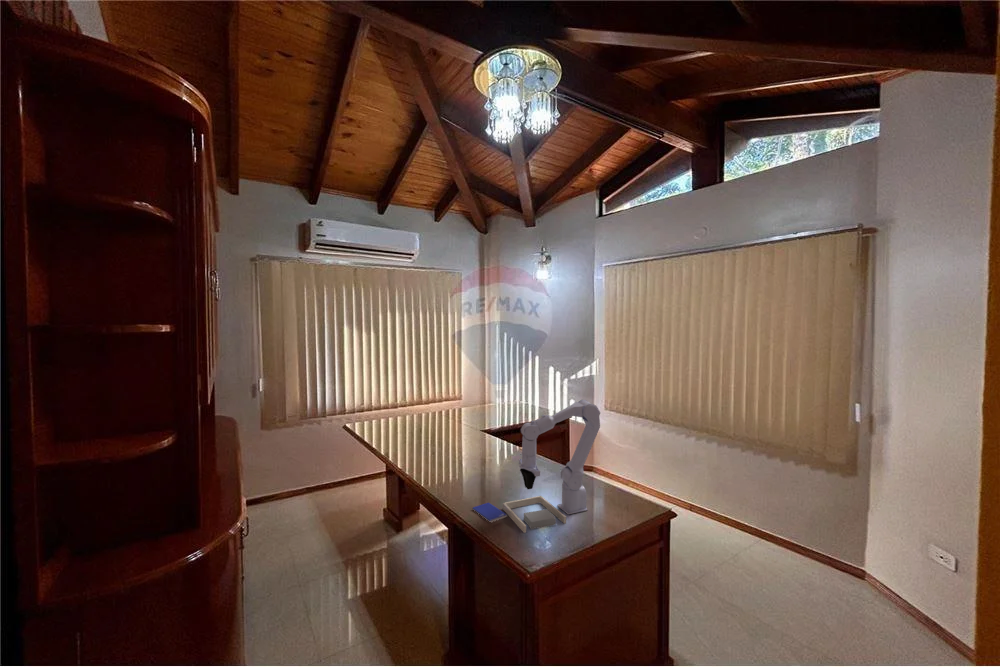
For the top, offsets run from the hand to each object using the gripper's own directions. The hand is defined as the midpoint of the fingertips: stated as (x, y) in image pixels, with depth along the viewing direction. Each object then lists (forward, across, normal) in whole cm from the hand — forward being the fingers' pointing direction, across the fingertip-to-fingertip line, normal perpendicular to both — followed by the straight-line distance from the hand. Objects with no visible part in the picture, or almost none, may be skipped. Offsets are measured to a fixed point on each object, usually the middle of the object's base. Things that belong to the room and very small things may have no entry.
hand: (528, 487), depth 150 cm
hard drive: (+10, -4, -15) cm, 19 cm away
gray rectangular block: (+10, +9, 0) cm, 13 cm away
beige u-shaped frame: (+9, +4, 0) cm, 10 cm away
